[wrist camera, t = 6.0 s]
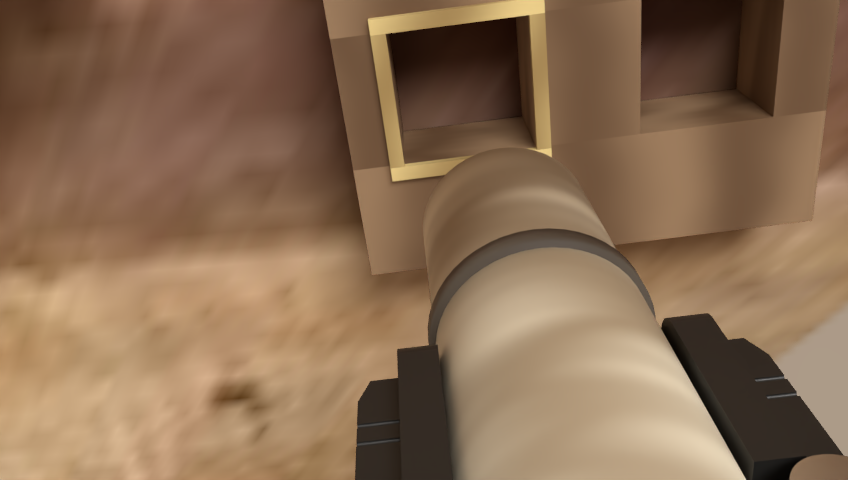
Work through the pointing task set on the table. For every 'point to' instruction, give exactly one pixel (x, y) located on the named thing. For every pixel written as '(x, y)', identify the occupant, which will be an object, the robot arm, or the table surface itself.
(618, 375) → the birch peg
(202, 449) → the table surface
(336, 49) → the walnut board
